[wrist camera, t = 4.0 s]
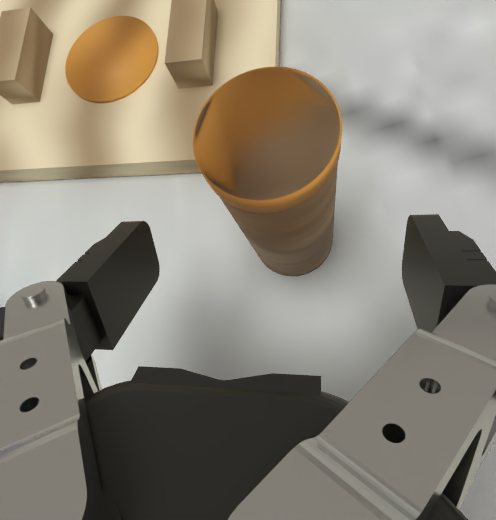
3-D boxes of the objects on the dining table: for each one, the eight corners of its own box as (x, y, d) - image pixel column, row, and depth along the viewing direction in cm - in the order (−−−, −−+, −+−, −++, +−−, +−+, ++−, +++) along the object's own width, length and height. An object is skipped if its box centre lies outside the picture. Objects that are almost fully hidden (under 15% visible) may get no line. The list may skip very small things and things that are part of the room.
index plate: (281, -33, 24) (275, -95, 21) (275, 168, 21) (266, 133, 18) (11, 8, 28) (-31, -39, 25) (-30, 183, 25) (-84, 157, 22)
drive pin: (333, 200, 20) (340, 59, 10) (333, 277, 19) (343, 199, 10) (255, 202, 21) (198, 74, 11) (252, 276, 20) (186, 204, 10)
